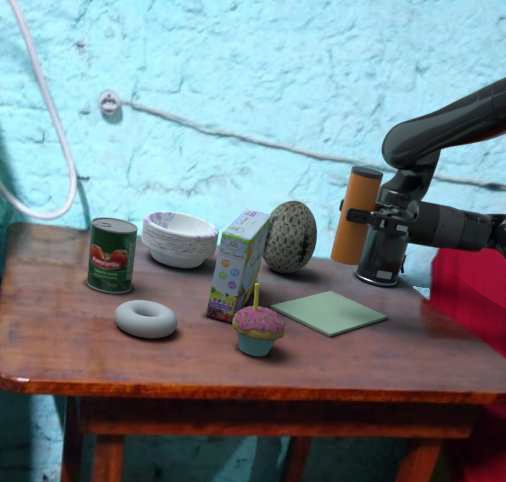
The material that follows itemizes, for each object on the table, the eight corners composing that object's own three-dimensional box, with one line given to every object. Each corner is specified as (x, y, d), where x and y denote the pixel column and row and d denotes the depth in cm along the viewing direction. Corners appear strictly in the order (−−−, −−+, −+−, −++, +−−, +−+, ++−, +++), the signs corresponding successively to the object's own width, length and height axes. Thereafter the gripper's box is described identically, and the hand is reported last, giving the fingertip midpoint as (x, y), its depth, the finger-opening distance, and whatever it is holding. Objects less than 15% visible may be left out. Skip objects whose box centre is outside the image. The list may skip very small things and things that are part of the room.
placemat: (329, 293, 153) (330, 290, 153) (386, 318, 146) (387, 316, 146) (270, 308, 139) (270, 305, 138) (329, 337, 132) (330, 333, 132)
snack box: (235, 325, 128) (252, 239, 120) (204, 316, 128) (219, 230, 121) (257, 289, 146) (273, 212, 139) (229, 282, 147) (244, 205, 139)
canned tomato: (126, 279, 137) (133, 219, 131) (135, 295, 131) (142, 233, 125) (83, 276, 134) (88, 215, 128) (89, 292, 128) (95, 229, 122)
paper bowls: (211, 279, 146) (218, 239, 142) (134, 264, 144) (139, 224, 140) (214, 256, 159) (221, 219, 155) (144, 243, 157) (148, 205, 153)
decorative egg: (288, 262, 166) (304, 194, 159) (318, 281, 158) (335, 211, 151) (244, 261, 160) (258, 191, 152) (273, 282, 152) (289, 208, 144)
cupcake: (242, 362, 115) (257, 289, 109) (218, 339, 121) (231, 268, 115) (288, 360, 119) (305, 289, 113) (263, 338, 125) (278, 269, 119)
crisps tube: (341, 253, 140) (363, 165, 132) (365, 263, 137) (389, 174, 129) (324, 256, 136) (345, 166, 128) (349, 266, 133) (372, 175, 125)
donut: (160, 348, 114) (185, 327, 122) (163, 328, 112) (188, 308, 121) (102, 329, 116) (130, 310, 124) (103, 309, 114) (132, 291, 122)
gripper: (427, 195, 139) (341, 179, 136) (451, 214, 126) (357, 197, 124) (415, 234, 142) (331, 220, 139) (437, 257, 130) (345, 242, 127)
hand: (343, 209), depth 132 cm, fingers closed on crisps tube, 5 cm apart
